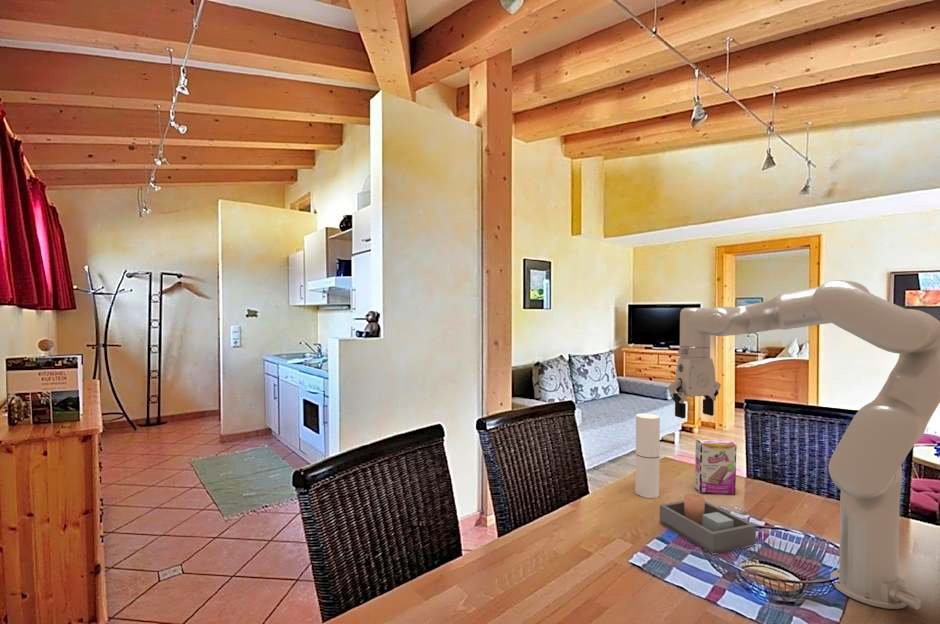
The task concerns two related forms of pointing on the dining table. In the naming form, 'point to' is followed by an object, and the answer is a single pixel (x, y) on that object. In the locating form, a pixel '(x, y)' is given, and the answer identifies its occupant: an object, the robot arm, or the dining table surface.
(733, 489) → the candy bar box
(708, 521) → the cube
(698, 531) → the tray
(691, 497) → the cylinder
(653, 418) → the cylindrical container
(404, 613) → the dining table surface
